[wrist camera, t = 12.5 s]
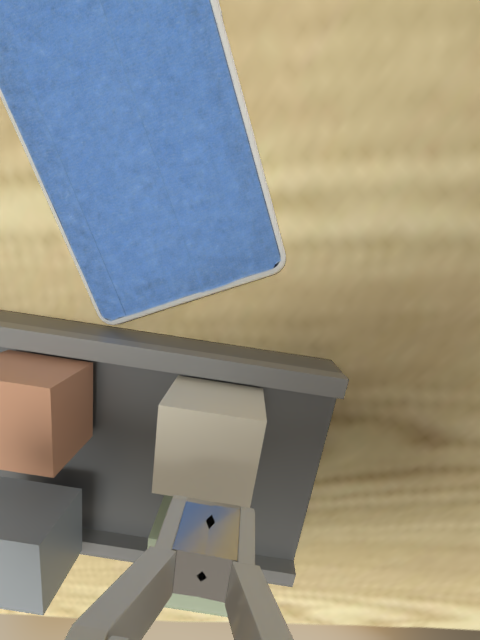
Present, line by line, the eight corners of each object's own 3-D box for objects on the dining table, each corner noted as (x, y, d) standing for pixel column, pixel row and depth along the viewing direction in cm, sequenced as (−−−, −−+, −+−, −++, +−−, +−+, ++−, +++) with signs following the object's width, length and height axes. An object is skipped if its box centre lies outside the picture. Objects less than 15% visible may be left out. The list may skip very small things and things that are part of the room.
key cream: (263, 388, 13) (266, 421, 11) (249, 460, 15) (250, 508, 12) (178, 375, 14) (158, 405, 11) (170, 448, 15) (151, 493, 12)
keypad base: (331, 360, 15) (348, 379, 13) (286, 541, 19) (292, 587, 16) (-23, 306, 16) (-81, 314, 13) (-3, 496, 19) (-45, 534, 16)
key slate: (81, 488, 14) (39, 545, 11) (82, 549, 15) (43, 615, 12) (2, 476, 14) (-62, 529, 11) (8, 537, 15) (-48, 600, 13)
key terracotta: (93, 362, 14) (50, 388, 11) (92, 436, 15) (53, 477, 12) (8, 349, 14) (-58, 372, 11) (14, 424, 15) (-45, 462, 12)
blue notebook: (-37, -11, 12) (-70, -44, 11) (182, -125, 11) (173, -176, 10) (112, 325, 16) (101, 330, 15) (288, 269, 15) (292, 269, 14)
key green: (242, 498, 15) (241, 552, 12) (232, 554, 16) (228, 617, 13) (167, 486, 15) (148, 538, 12) (162, 543, 16) (143, 603, 13)
